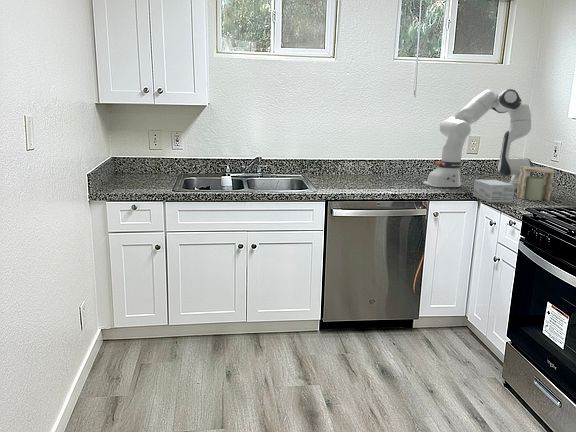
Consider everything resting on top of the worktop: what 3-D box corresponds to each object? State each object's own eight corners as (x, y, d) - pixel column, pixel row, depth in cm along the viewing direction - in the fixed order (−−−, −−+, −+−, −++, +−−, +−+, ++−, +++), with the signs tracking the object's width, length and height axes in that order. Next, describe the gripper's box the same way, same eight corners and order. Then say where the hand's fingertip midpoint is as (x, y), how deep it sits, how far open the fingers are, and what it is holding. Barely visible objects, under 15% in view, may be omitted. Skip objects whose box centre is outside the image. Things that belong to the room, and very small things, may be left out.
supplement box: (513, 202, 261) (515, 184, 259) (489, 203, 259) (492, 185, 257) (494, 196, 277) (496, 179, 275) (472, 196, 275) (474, 179, 273)
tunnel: (509, 190, 293) (513, 162, 289) (534, 192, 291) (539, 163, 287) (521, 199, 269) (526, 168, 265) (549, 201, 267) (554, 170, 263)
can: (520, 196, 277) (523, 174, 274) (537, 197, 277) (540, 175, 274) (526, 200, 268) (530, 177, 265) (544, 200, 268) (548, 178, 265)
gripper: (506, 177, 289) (513, 181, 275) (544, 179, 286) (553, 183, 272) (505, 188, 290) (511, 192, 277) (542, 190, 287) (551, 195, 274)
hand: (532, 188), depth 275 cm, fingers closed, pressing on can
